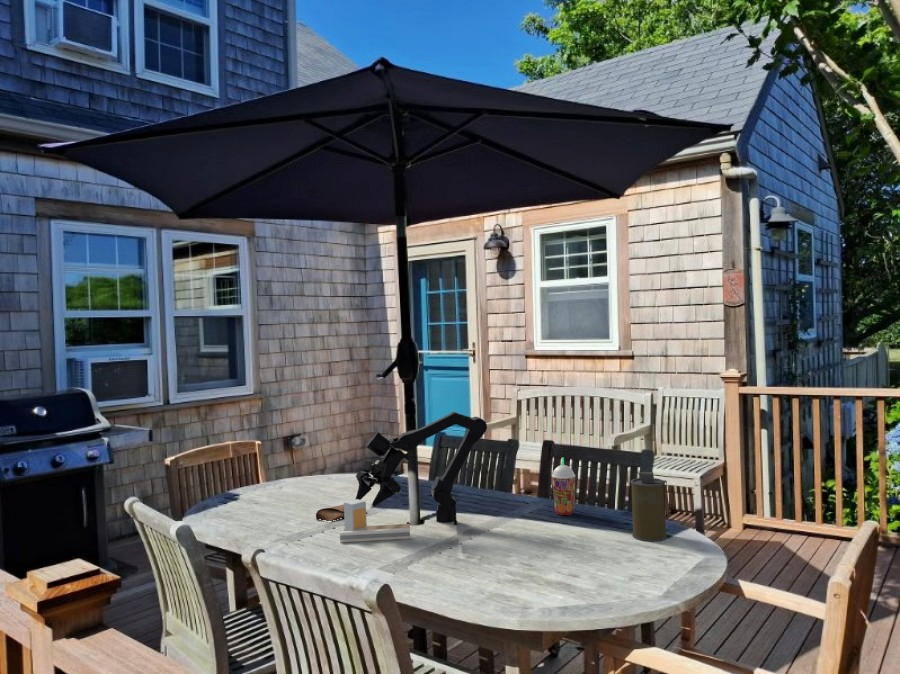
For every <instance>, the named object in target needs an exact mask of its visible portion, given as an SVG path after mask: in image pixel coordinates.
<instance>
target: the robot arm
mask: <svg viewBox="0 0 900 674" xmlns="http://www.w3.org/2000/svg"><path fill="white" fill-rule="evenodd" d="M455 425H457V426H460V427H462V428H465V430H464V434H463V438H462V441H461V443H460V445H458V448H457V450H456V451H455V454H454V456H453V457H452V459H451V460H450V462H449V463H448V466H447V468H446V469H445V471H444V473H443V474H442V475H441V476H440V477H439V476H438V475H437V476H436V477H435V478H434V482H433V483H432V484H430V487H431V489H430V490H431V491H430V493H431V495H432V496H431V497H432V498H433V499H434V501H435V502H436V503H438V504H437V508H436V509H435V520H436V523H446V524H447V523H453V525H454V526H455V525H458V522H457V506H456V505H457V500H456V498H454V495H452V492H453V488H454V483H455V480H456V479H457V476H458V474H459V473H460V471H461V469H462V467H463V465H464V464H465V462H466V460H467V458H468V456H469V455H470V452H471V451H472V449H473V447H474V445H475V444H476V443H478V442H479V440H480V439H482V437H483V435H485V433H486V432H487V430H488V424H487V422H486V421H485V420H484V419H482V418H481V417H480V416H473V417H470V416H468V415H464V414H461V413H458V412H456V411H451V412H450V413H448V414H447V415H444V416H442V417H440V418H438V419H436V420H435V421H433V422H431V423H428V424H427V425H424V426H422V427H420V428H416V429H413V430H408V431H405V432H402V433H401V434H399V435H398V436H397V437H395V438H392V439H389V438H387V437H385V435H383V434H382V433H381V432H379V431H376V433H375V434H374V435H373V436H372V437H371V438H370V439H369V440H368V441H367V443H366V445H365V448H366V449H367V450H368V451H370V452H371V453H373V454H374V455H375V456H377V457H380V456H381V457H384V456H385V457H384V458H383V459H382V460H379V459H376V460H375V461H372V460H369V459H368V460H367V459H364V461H363V464H362V467H361V471H358V472H357V473H356V475H355V478H356V480H357V482H358V488H357V493H356V496H355V499H354V500H356V499H359V500H362V499H363V498H364V497H366V495H367V494H369V493H370V492H371V491H372V488H373V487H374V486H375V485H378V486H379V490H378V492H377V494H376V495H375V498H374V499H373V501H372V503H371V504H372V506H373V507H376V506H377V505H380V503H382V502H384V501H386V500H388V499H389V498H391V497H393V496H396V495H399V494H400V492H401V491H402V485H401V483H399V481H397V479H396V478H395V477H393V476H397V475H398V472H397V470H398V469H399V467H400V466H401V464H402V462H405V463H407V462H409V461H410V460H411V458H410V453H407V452H410V451H413V450H414V449H415V448H417V447H418V446H420V445H421V444H422V443H423V441H425V440H426V439H427V440H428V439H429V438H430V437H433V436H434V435H436V434H439V433H441V432H442V431H444V430H447V429H449V428H450V427H453V426H455ZM405 452H406V453H405ZM363 470H364V471H363ZM367 471H368V472H367Z"/></svg>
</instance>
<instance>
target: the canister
mask: <svg viewBox="0 0 900 674" xmlns="http://www.w3.org/2000/svg"><path fill="white" fill-rule="evenodd" d="M638 475H639V476H640V477H639V478H638V477H637V478H633V479H631V480H630V483H631V508H632V509H631V511H632V537H633V538H634V539H635V540H638V541H644V542H659V541H664V540H666V539H667V537H668V535H667V525H666V523H667V522H666V519H667V518H668V516H669V510H668V509H669V506H668V499H666V492H668V481H667V479H666V480H665V479H660V478H655V476H654V472H653V471H648V472H647V471H640V472H639V473H638ZM665 484H666V485H665ZM665 486H666V487H665ZM665 489H666V490H665ZM665 491H666V492H665ZM666 514H667V515H666ZM666 517H667V518H666Z"/></svg>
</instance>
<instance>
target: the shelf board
mask: <svg viewBox="0 0 900 674" xmlns="http://www.w3.org/2000/svg"><path fill="white" fill-rule="evenodd" d="M397 528H411V526H410V523H401V524H398V523H397V524H382V525H379V524H378V525H367V530H378V529H397ZM343 531H345V528H344V529H343ZM404 540H405V541H406V540H408V539H392V540H391V541H404ZM385 541H386V542H387V541H388V542H389V541H390V540H373V541H355V542H339V543H340V544H349V543H367V542H368V543H371V542H385Z"/></svg>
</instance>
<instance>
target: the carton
mask: <svg viewBox="0 0 900 674" xmlns="http://www.w3.org/2000/svg"><path fill="white" fill-rule="evenodd" d="M355 499H356V498H355ZM355 499H352V500H348V501H344V502H343V505H344V519H343V520H344V529H345V531H360V530H367V526H368V525H367V513H366V512H367V504H366V502H367V501H366V500H362V499H361V500H359V499H356V500H355Z"/></svg>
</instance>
